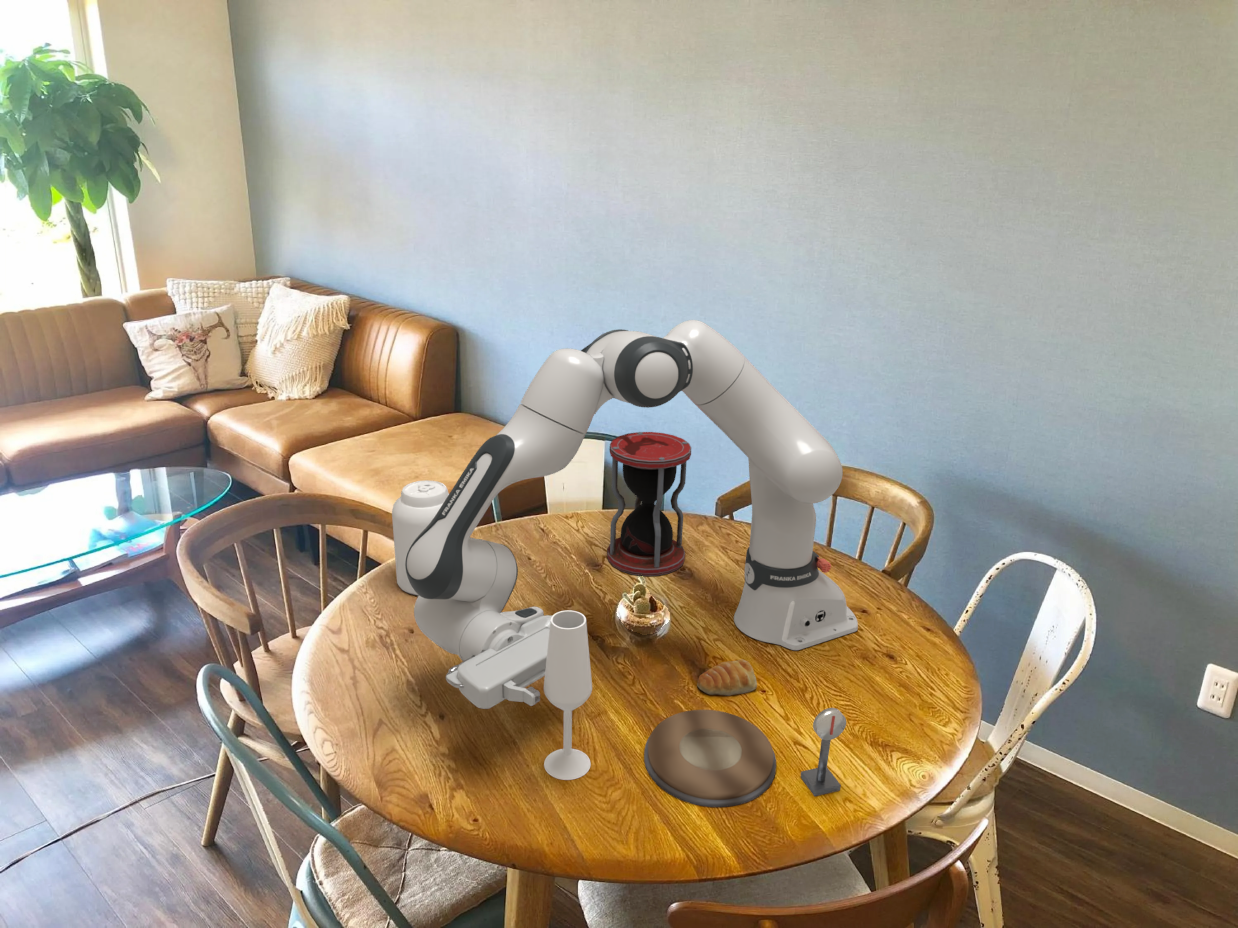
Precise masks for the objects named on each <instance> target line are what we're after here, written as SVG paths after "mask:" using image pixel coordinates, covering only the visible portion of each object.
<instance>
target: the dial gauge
mask: <svg viewBox="0 0 1238 928" xmlns="http://www.w3.org/2000/svg"><path fill="white" fill-rule="evenodd" d="M846 726H847V719H846V717H845V715H844V714H843V713H842V712H841V711H840V710H839V709H838V708H835V707H829V708H824V709H823V710H821V711H820V712H819V713H818V714H817V715H816V717H814V719H813V724H812V728H813V731H814V732H815V733H816V735H817V736H818V737H819V738H820V739H821V742H820V749H819V750H820V751H819V756H818V757H819V758H818V763H817V767H815V768H811V769H806V770H803V771H800V778H801V780H802V782H803V783H804V784H805V785H806V787H807V789H809V790H810V792H811V793H812V795H813V796H814V797H818V796H822V795H828V794H831V793H835V792H839V791H841V788H842V785H841V783H840V782H839V780H838V779H837V778H836V777H835V776H834V774H833V773H832V771H831V770H830V769H829V767H828V760H829V754H830V746H831V741H832V740H834V739H836V738H838V737H839V736H840V735H841V734H842V733H843V732H844V730H845V728H846Z"/></svg>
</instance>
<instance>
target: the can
mask: <svg viewBox="0 0 1238 928" xmlns="http://www.w3.org/2000/svg"><path fill="white" fill-rule="evenodd" d="M449 494H450V492H449V490H448V487H447V486H446V485H445V484H444V483H443V482H440V481H437V480H428V479H427V480H426V479H425V480H417V481H413V482H409V483H407V484H406V485H404V486H403V487H402V490H401V492H400V496H399V497H398V498H397V499H396V500H395V502H394V503H393V505H392V510H391V518H392V529H393V530H392V532H393V533H392V534H393V544H394V545H393V546H394V548H393V549H394V558H395V559H394V560H395V572H396V584H397V585H398V587H399V588H400V589H401V590H402V591H404V592H406V593H407V594H410V595H415V596H419V595H418V594H417V593H416V592H415V590H414V589H413V587H412V586H411V584H410V582H409V580H408V577H407V574H406V567H405V562H406V556H407V553H408V551H409V548H410V547H411V545H412V543H413V542H414V541H415V539H416V538H417V537H418V536H419V535H420V533H421V532H422V531H423V530H424V529H425V528H426V527H427V526H428V525H429V524H430V522H431V521H432V520H433V518H434V517H435V515H436V514H437V512H438V511H439V509H440V508H441V506H442V505H443V503H444V501H445V500H446V498H447V497H448V495H449Z"/></svg>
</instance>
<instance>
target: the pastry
mask: <svg viewBox="0 0 1238 928" xmlns="http://www.w3.org/2000/svg"><path fill="white" fill-rule="evenodd" d="M697 680H698V681H697V684H696V686H697V687H698V689H699V690H701V691H702V692H704V693H705V694H706V695H710V696H711V695H712V696H714V695H719V696H725V697H727V696H728V697H729V696H733V695H740V694H741V695H742V694H746V693H750V692H754V690H756V689H757V688H758V683H757V678H756V675H755V670H754V668H753V666H752V665H751V663H750V662H749V661H747V660H745V659H743V658H740V659H738V660H733V661H732V660H731V661H730V660H728V661H723V662H720V663H718V664H717V665H714V666H712V667H711V668H708V669H707V670H706V671H704V672H702V674H700V675H699V676H698V679H697Z"/></svg>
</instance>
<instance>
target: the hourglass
mask: <svg viewBox="0 0 1238 928" xmlns="http://www.w3.org/2000/svg"><path fill="white" fill-rule="evenodd" d="M609 454H610V457H611V458H612V463H611V491H612V494H613V496H614V497H615V498H616V500H617V504H618V507H617V510H616V513H615V514H614V515H613V516H612V519H611V521H610V535H609V537H610V538H609V539H610V540H609V541H610V542H609V544H608V546H607V549H606V558H607V561H608V563H610V565H612V566H613V568H615V569H618V570H619V571H620V572H624V573H626V574H630V575H635V576H641V575H642V576H641V577H655V576H663V575H666V574H671V573H673V572H675V571H677V570H679V569H680V567H682V566H683V565H684V563H685V559H686V551H685V549H684V546H683V528H684V527H683V525H684V514H683V511H682V509H680V507H679V504H678V498H679V495H680V493H681V492H682V491H683V490H684V487H685V484H686V477H687V476H686V475H687V461H690V460H691V459H690V458H691V456H692V446H691V444H690V443H689V442H688V441H687V440H685V439H684V438H682V437H679V436H677V435H674V434H671V433H664V432H656V431H655V432H654V431H638V432H628V433H625V434H622V435H618V436H617V437H615V438H613V439H612V440H611V442H610V444H609ZM619 463H621V464H622V477H623V480H624V482H625V485H626V486H627V488H628V490H630V491H631V493H632V494H633V495H634V496H635V497H636V499H635V501H634V510H632V511H631V512H630V513H629V514H628V515H627V516H626V517H625V519H624V521H623V523H622V525H621V530H620V537H617V523H618V520H619V518H620V517H621V516H623V514H624V511H625V509H626V501H625V498H624V496H622V494H620V491H619V489H618V477H619V476H618V473H619V471H618V470H619V469H618V468H619ZM678 466H680V474H679V475H680V476H679V483H678V485H677V488H675V490H674V491H672V495H671V497H670V505H671V508H672V509H673V511H674V512H675V513H676V516H677V530H676V540H675V539H673V538H674V532H673V530H674V529H673V527H672V524H671V522H670V519H669V518H668V517H667V516H666V514H665V513H664V512H663V511H662V510H661V508H662V506H663V502H664V501H663V500H664V499H663V497H664V495H665V494H666V493H668V491H669V490H670V489H671V488H672V486H674V485H673V484H674V483H675V480H676V475H677V469H678V468H677V467H678Z"/></svg>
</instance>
